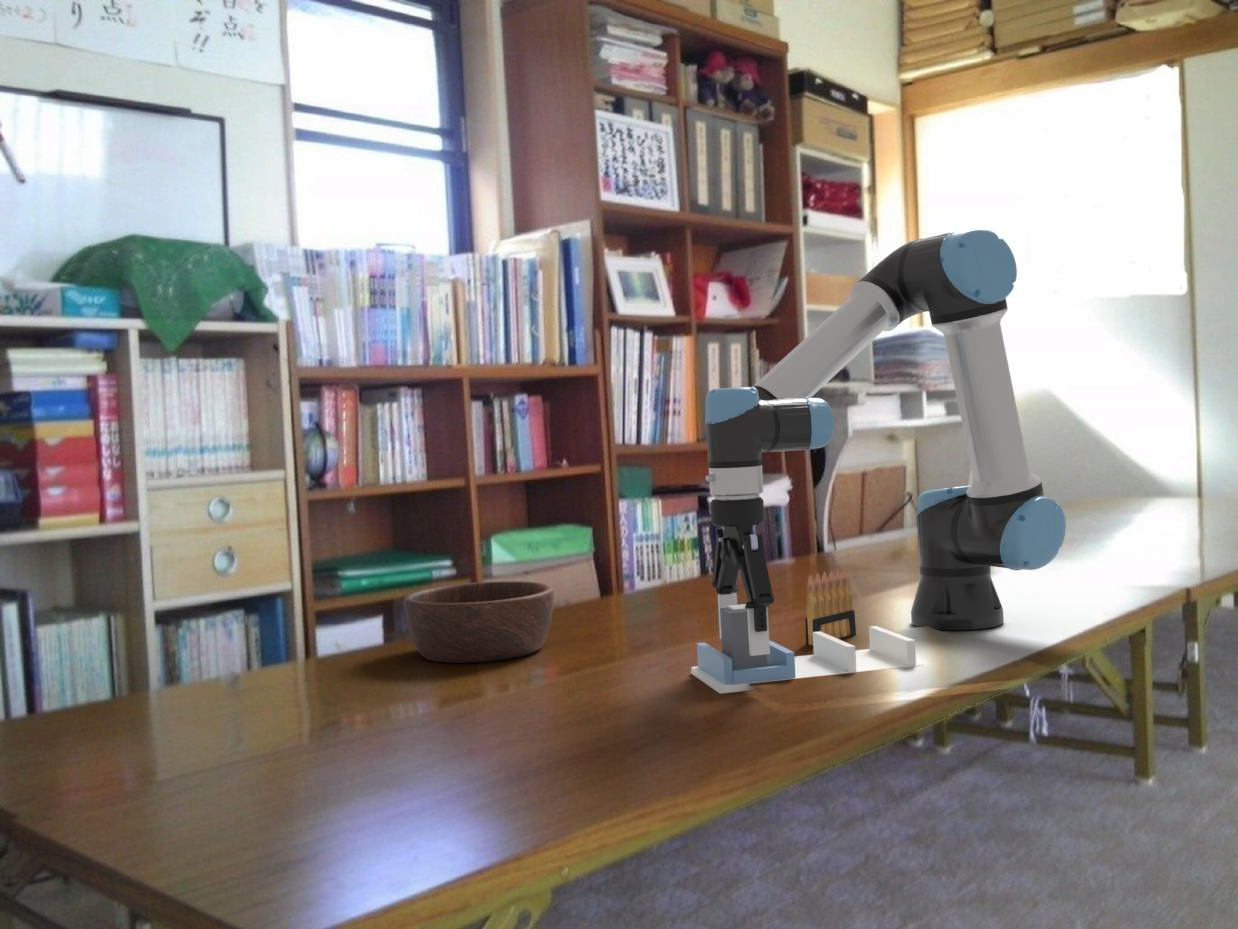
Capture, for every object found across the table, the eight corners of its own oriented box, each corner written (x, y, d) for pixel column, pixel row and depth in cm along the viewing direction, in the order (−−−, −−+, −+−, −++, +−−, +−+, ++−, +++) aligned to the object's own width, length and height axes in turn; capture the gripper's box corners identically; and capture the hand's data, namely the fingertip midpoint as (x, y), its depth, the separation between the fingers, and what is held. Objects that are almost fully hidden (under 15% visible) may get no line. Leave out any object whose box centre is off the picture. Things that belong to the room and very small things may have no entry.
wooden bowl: (376, 659, 209) (372, 597, 208) (489, 634, 227) (486, 577, 227) (474, 674, 192) (470, 608, 191) (587, 646, 210) (584, 585, 210)
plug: (756, 667, 181) (753, 602, 180) (767, 673, 176) (764, 607, 175) (723, 670, 180) (719, 605, 179) (733, 677, 175) (730, 610, 174)
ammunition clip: (815, 652, 194) (811, 575, 194) (805, 651, 196) (801, 574, 195) (856, 641, 201) (853, 567, 201) (847, 639, 203) (844, 566, 202)
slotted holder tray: (881, 654, 190) (880, 624, 190) (923, 672, 176) (922, 640, 176) (691, 673, 183) (689, 643, 183) (719, 693, 170) (718, 660, 169)
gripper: (686, 494, 188) (694, 634, 189) (738, 504, 164) (746, 664, 164) (734, 490, 190) (741, 629, 190) (792, 500, 165) (800, 659, 166)
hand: (744, 646), depth 177 cm, fingers open, 13 cm apart
